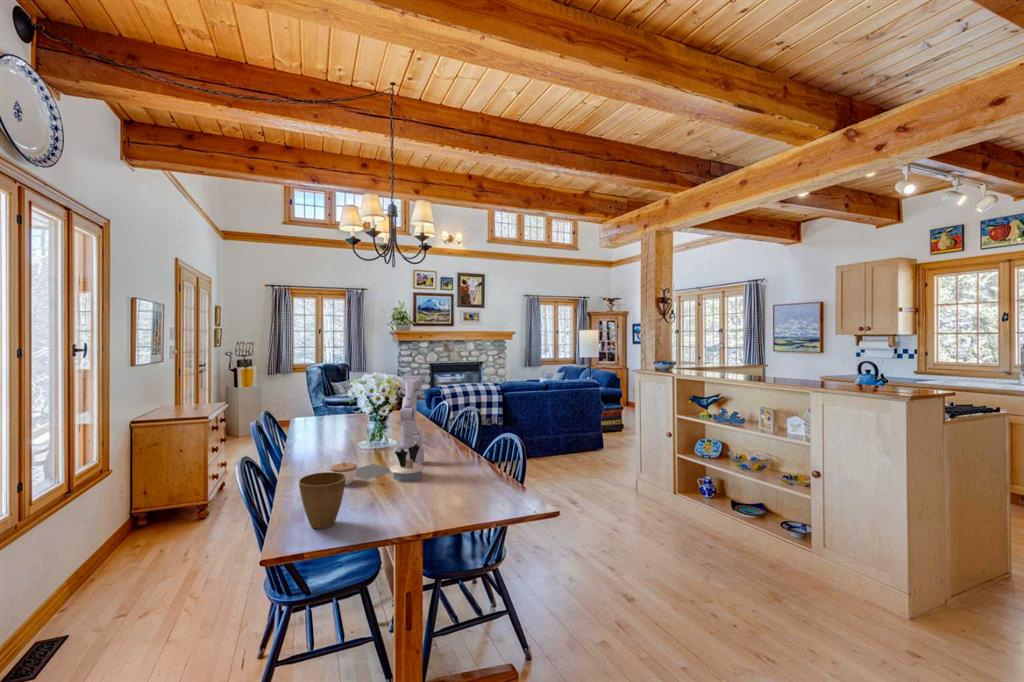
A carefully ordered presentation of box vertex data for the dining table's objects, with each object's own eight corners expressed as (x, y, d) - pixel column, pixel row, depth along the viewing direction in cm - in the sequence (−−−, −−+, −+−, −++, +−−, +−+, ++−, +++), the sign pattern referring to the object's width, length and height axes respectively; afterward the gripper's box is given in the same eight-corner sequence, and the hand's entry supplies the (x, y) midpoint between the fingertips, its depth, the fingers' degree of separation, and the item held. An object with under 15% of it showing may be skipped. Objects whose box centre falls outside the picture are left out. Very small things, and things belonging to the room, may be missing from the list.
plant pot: (289, 532, 158) (289, 483, 158) (315, 515, 173) (315, 470, 172) (331, 535, 155) (330, 486, 155) (354, 518, 170) (354, 473, 170)
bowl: (408, 472, 226) (408, 464, 226) (427, 476, 219) (427, 468, 219) (388, 478, 216) (388, 470, 216) (407, 483, 209) (407, 474, 209)
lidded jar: (361, 480, 213) (360, 459, 213) (350, 488, 203) (350, 466, 202) (337, 479, 214) (337, 458, 214) (326, 487, 204) (325, 465, 204)
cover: (402, 463, 228) (402, 454, 228) (430, 466, 222) (430, 457, 222) (382, 471, 214) (382, 462, 214) (411, 475, 208) (411, 465, 208)
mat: (372, 464, 239) (372, 463, 239) (397, 470, 229) (397, 469, 229) (341, 473, 224) (341, 472, 224) (366, 480, 214) (366, 479, 214)
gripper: (409, 430, 226) (409, 459, 226) (390, 436, 212) (390, 467, 212) (422, 431, 223) (422, 461, 223) (403, 438, 209) (403, 469, 210)
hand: (407, 464), depth 218 cm, fingers open, 7 cm apart
